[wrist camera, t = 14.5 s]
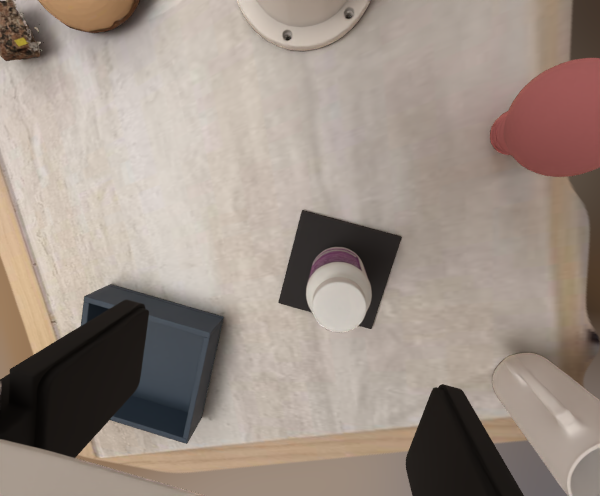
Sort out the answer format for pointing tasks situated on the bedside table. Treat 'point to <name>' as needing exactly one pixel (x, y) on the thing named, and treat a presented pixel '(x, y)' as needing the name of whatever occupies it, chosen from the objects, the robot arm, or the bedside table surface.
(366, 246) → the mat
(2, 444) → the robot arm
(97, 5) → the donut
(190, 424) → the bin
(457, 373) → the bedside table surface
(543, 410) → the mug
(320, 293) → the pill bottle
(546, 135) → the light bulb
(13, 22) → the rock
